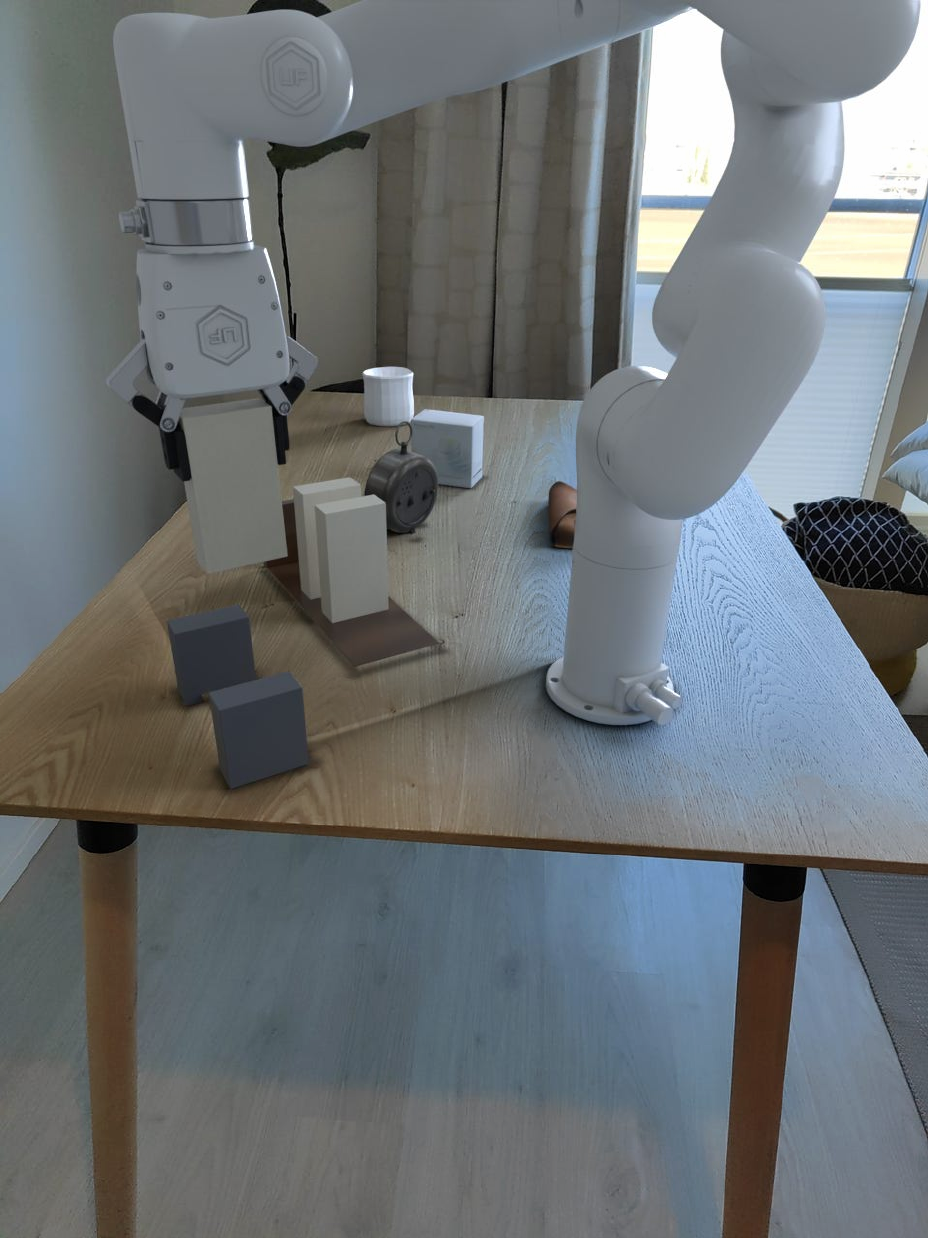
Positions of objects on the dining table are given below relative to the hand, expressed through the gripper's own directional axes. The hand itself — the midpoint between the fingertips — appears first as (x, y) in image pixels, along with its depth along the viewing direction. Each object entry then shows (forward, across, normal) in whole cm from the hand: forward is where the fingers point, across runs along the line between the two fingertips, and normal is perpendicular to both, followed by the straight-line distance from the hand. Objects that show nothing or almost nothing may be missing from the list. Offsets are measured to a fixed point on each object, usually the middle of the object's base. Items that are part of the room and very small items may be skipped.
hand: (230, 466), depth 69 cm
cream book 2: (+24, +16, +20) cm, 35 cm away
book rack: (+25, +16, +16) cm, 34 cm away
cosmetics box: (+25, +49, +50) cm, 75 cm away
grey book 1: (+24, -2, +7) cm, 25 cm away
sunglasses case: (+25, +56, +24) cm, 66 cm away
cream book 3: (+24, +16, +14) cm, 31 cm away
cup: (+25, +56, +86) cm, 106 cm away
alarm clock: (+25, +32, +32) cm, 52 cm away
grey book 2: (+25, -2, -7) cm, 26 cm away
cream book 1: (+8, 0, 0) cm, 8 cm away
